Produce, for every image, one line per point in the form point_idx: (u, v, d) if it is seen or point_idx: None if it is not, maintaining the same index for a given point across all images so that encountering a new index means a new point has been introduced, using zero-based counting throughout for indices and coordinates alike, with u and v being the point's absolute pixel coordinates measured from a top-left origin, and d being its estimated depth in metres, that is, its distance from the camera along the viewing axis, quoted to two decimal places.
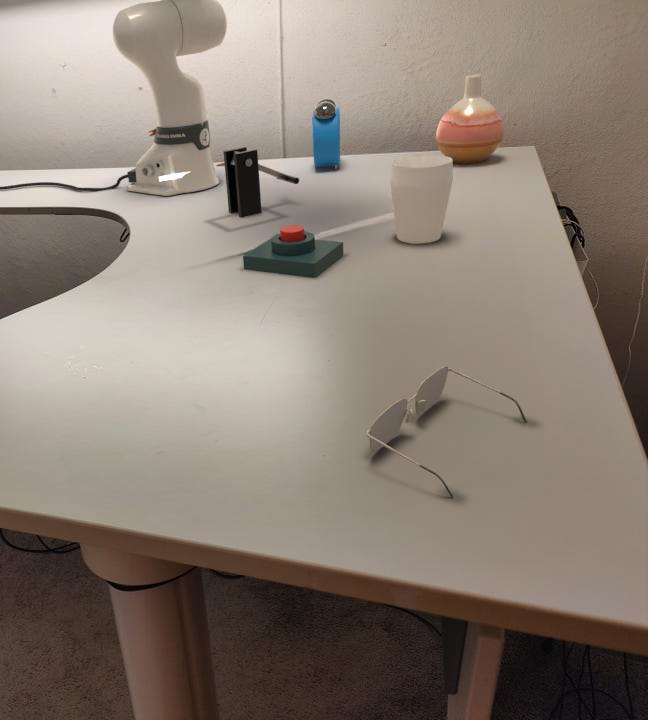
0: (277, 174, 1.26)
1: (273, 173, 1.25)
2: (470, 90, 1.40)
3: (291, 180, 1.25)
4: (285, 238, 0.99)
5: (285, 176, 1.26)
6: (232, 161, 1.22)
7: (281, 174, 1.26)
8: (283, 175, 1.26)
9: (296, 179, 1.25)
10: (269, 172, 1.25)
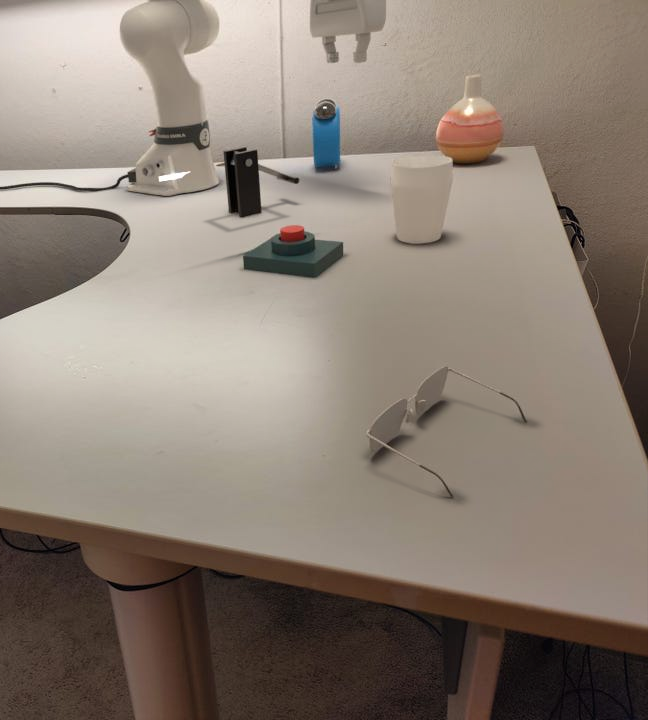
0: (277, 174, 1.26)
1: (273, 173, 1.25)
2: (470, 90, 1.40)
3: (291, 180, 1.25)
4: (285, 238, 0.99)
5: (285, 176, 1.26)
6: (232, 161, 1.22)
7: (281, 174, 1.26)
8: (283, 175, 1.26)
9: (296, 179, 1.25)
10: (269, 172, 1.25)
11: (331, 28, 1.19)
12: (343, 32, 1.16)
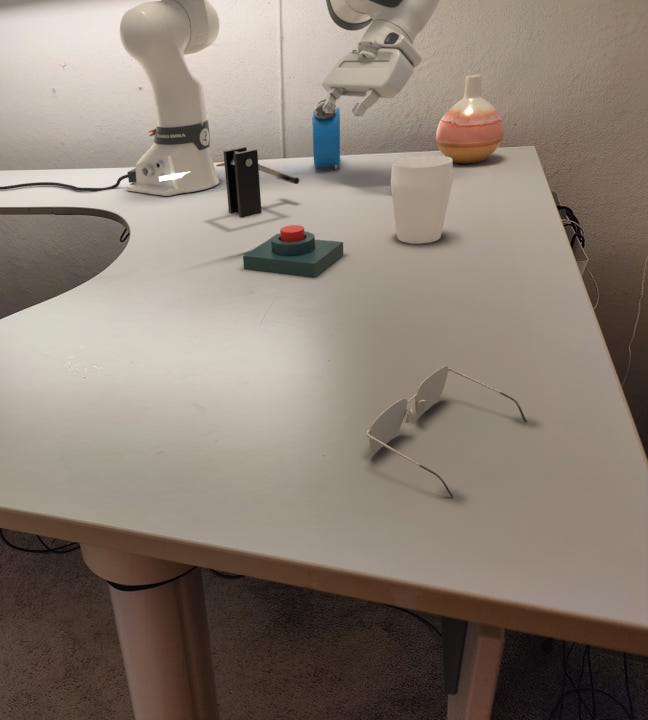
0: (277, 174, 1.26)
1: (273, 173, 1.25)
2: (470, 90, 1.40)
3: (291, 180, 1.25)
4: (285, 238, 0.99)
5: (285, 176, 1.26)
6: (232, 161, 1.22)
7: (281, 174, 1.26)
8: (283, 175, 1.26)
9: (296, 179, 1.25)
10: (269, 172, 1.25)
11: (347, 79, 1.27)
12: (358, 84, 1.23)
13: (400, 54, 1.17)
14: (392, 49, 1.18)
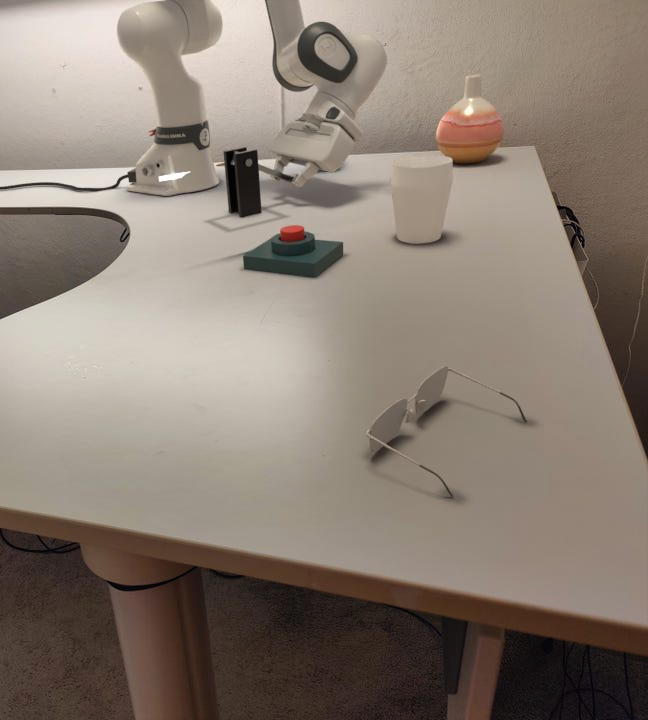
0: (277, 174, 1.26)
1: (273, 173, 1.25)
2: (470, 90, 1.40)
3: (291, 180, 1.25)
4: (285, 238, 0.99)
5: (285, 176, 1.26)
6: (232, 161, 1.22)
7: (281, 174, 1.26)
8: (283, 175, 1.26)
9: None
10: (269, 172, 1.25)
11: (292, 149, 1.27)
12: (301, 155, 1.24)
13: (341, 130, 1.18)
14: (333, 124, 1.19)
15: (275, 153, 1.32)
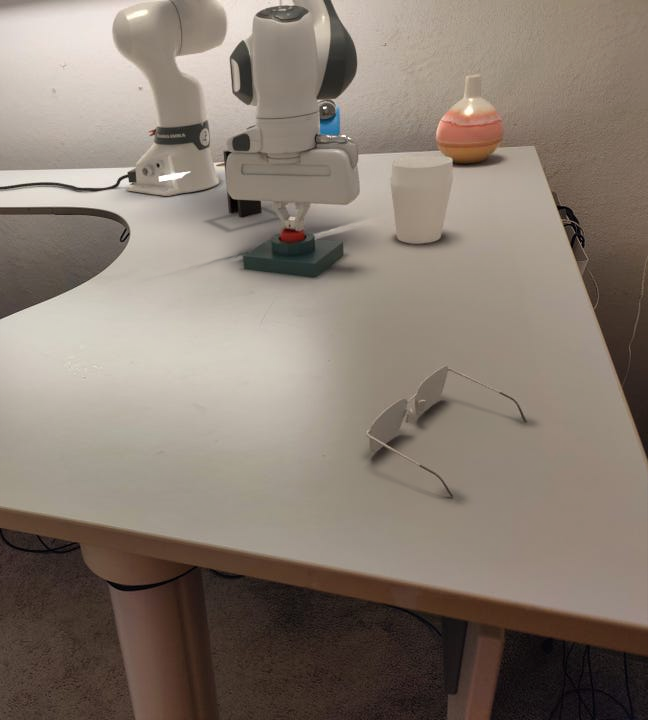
0: None
1: None
2: (470, 90, 1.40)
3: None
4: (285, 240, 1.00)
5: None
6: None
7: None
8: None
9: None
10: None
11: None
12: None
13: None
14: None
15: None
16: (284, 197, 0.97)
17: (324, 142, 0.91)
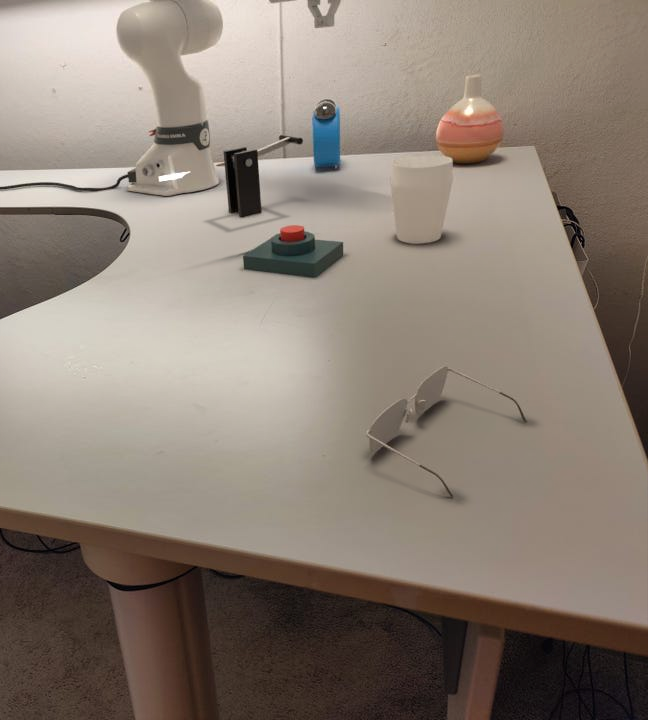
0: (279, 145, 1.23)
1: (275, 147, 1.23)
2: (470, 90, 1.40)
3: (295, 142, 1.23)
4: (285, 238, 0.99)
5: (288, 140, 1.24)
6: (234, 166, 1.22)
7: (283, 142, 1.24)
8: (285, 141, 1.24)
9: (299, 140, 1.22)
10: (271, 149, 1.23)
11: None
12: None
13: None
14: None
15: None
16: None
17: None
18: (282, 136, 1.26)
